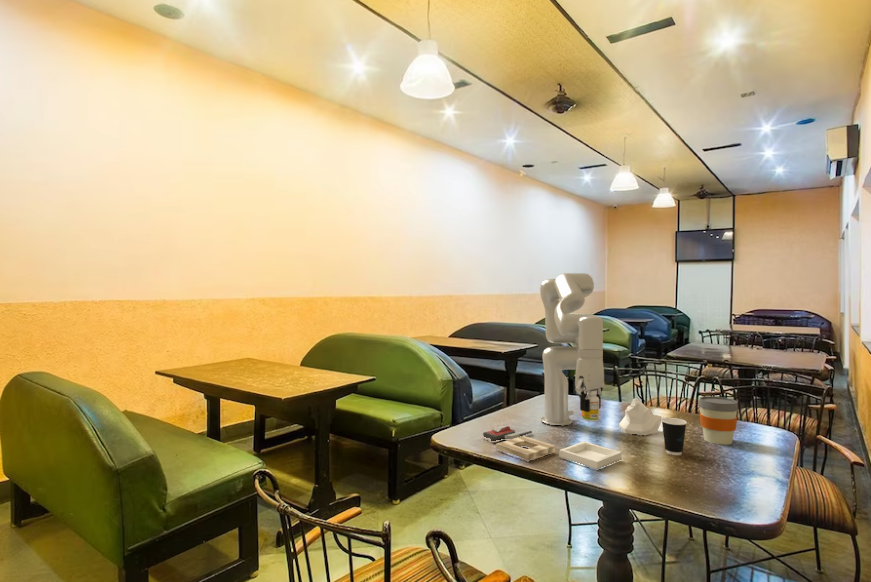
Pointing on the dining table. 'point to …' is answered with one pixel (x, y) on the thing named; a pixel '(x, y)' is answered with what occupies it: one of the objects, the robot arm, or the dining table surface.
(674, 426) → the dixie cup
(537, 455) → the socket block
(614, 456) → the tray
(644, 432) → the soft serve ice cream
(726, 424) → the reusable coffee cup
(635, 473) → the dining table surface
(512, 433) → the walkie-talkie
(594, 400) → the supplement bottle
